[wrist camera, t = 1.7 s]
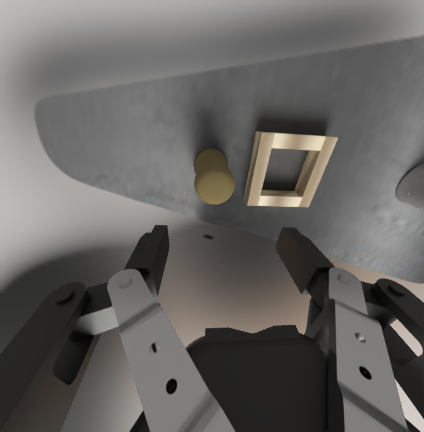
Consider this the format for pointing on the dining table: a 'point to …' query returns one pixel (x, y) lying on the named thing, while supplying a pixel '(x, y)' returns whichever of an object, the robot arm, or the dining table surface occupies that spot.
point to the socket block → (308, 177)
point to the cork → (213, 177)
